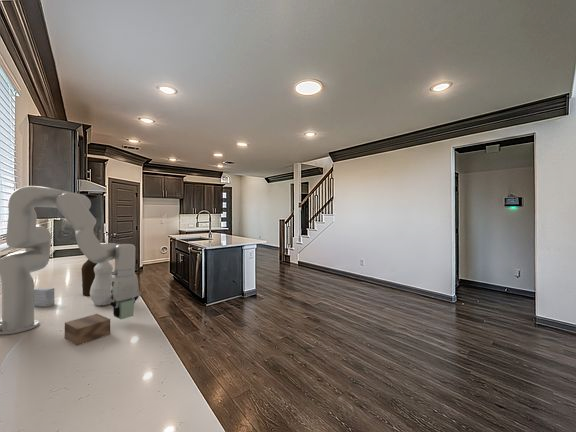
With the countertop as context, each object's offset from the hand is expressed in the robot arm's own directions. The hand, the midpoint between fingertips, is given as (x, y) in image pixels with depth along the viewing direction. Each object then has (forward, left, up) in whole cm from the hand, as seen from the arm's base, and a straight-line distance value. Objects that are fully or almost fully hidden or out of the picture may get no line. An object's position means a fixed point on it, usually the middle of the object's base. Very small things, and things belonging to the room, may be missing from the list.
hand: (123, 313), depth 116 cm
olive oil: (+13, +61, -5) cm, 62 cm away
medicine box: (-10, +59, -5) cm, 60 cm away
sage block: (0, 0, -1) cm, 1 cm away
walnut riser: (-14, 0, -4) cm, 14 cm away
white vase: (+8, +37, -5) cm, 38 cm away
